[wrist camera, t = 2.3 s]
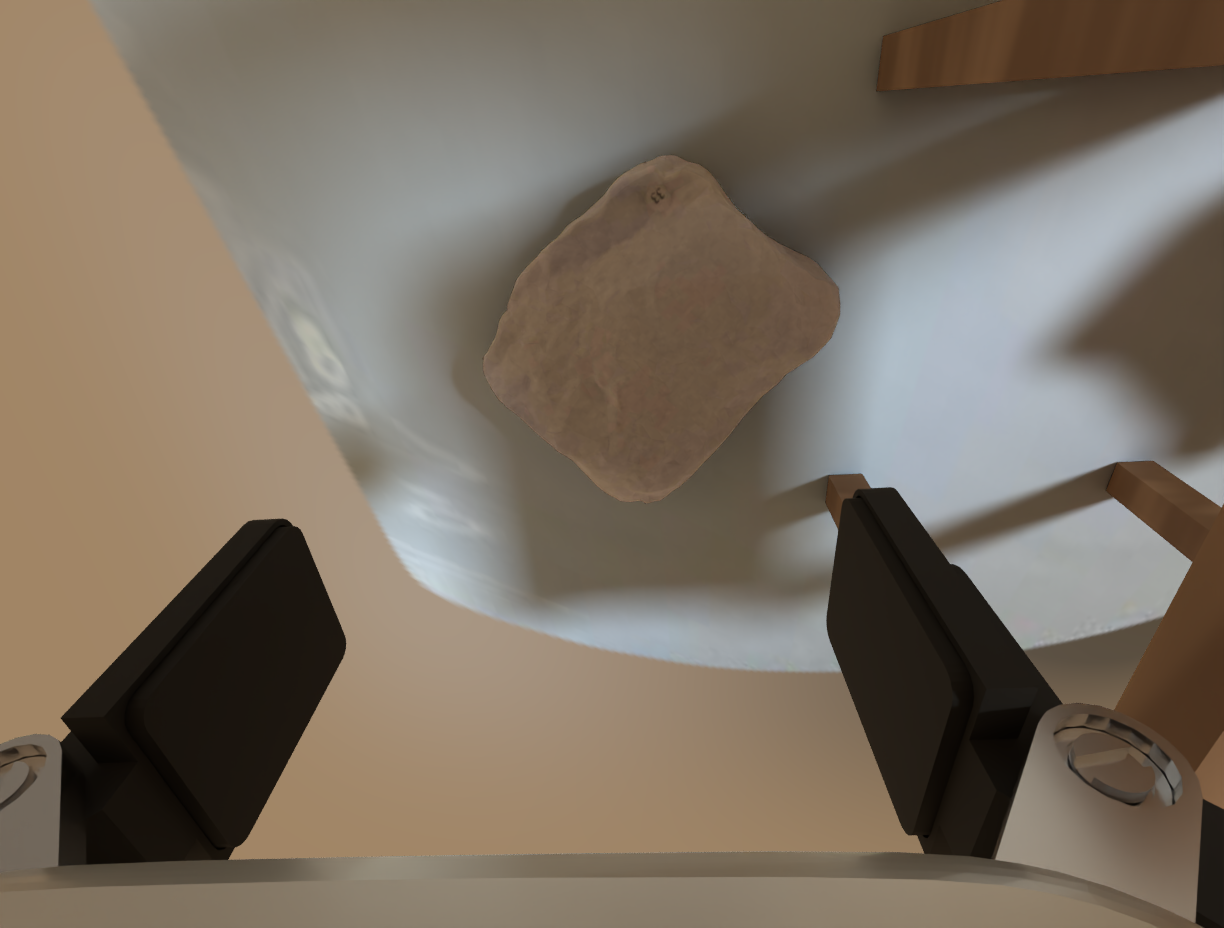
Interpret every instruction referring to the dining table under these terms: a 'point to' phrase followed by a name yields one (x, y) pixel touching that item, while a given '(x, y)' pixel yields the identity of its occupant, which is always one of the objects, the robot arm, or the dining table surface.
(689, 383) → the stone block
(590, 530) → the dining table surface
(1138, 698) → the stand
